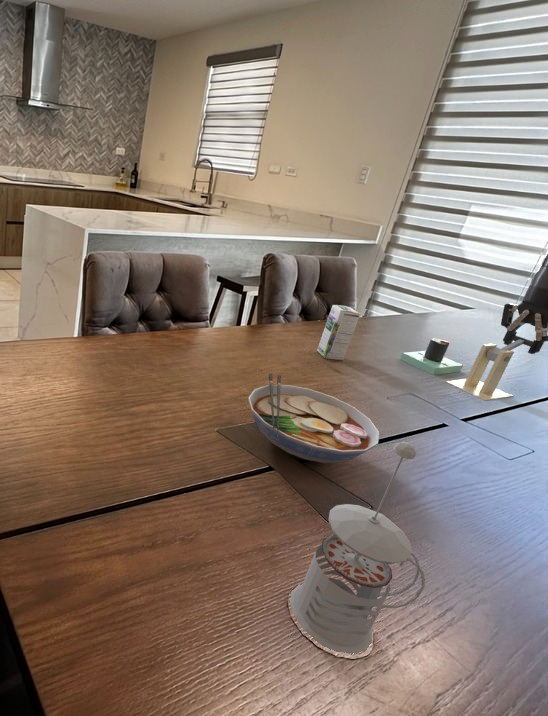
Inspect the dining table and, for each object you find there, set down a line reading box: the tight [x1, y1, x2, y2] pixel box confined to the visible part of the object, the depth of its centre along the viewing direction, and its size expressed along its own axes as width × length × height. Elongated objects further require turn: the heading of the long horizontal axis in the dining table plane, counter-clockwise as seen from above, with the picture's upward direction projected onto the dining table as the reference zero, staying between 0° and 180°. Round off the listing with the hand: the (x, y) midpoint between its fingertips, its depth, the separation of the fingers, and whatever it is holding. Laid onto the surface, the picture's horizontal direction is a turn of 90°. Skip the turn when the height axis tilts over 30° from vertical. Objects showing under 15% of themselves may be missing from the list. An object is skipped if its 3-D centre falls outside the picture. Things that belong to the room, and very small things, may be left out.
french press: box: [290, 441, 426, 655], centre depth 51 cm, size 10×12×25 cm
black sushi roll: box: [424, 337, 451, 362], centre depth 134 cm, size 4×4×6 cm
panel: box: [400, 350, 464, 376], centre depth 135 cm, size 12×10×3 cm
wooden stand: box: [444, 343, 515, 402], centre depth 121 cm, size 12×10×13 cm
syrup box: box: [316, 304, 361, 361], centre depth 133 cm, size 6×6×14 cm
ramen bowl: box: [248, 372, 380, 464], centre depth 88 cm, size 25×23×8 cm
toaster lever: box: [486, 334, 534, 363], centre depth 121 cm, size 12×5×2 cm, turn 111°
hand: (518, 348), depth 123 cm, fingers closed on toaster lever, 5 cm apart
